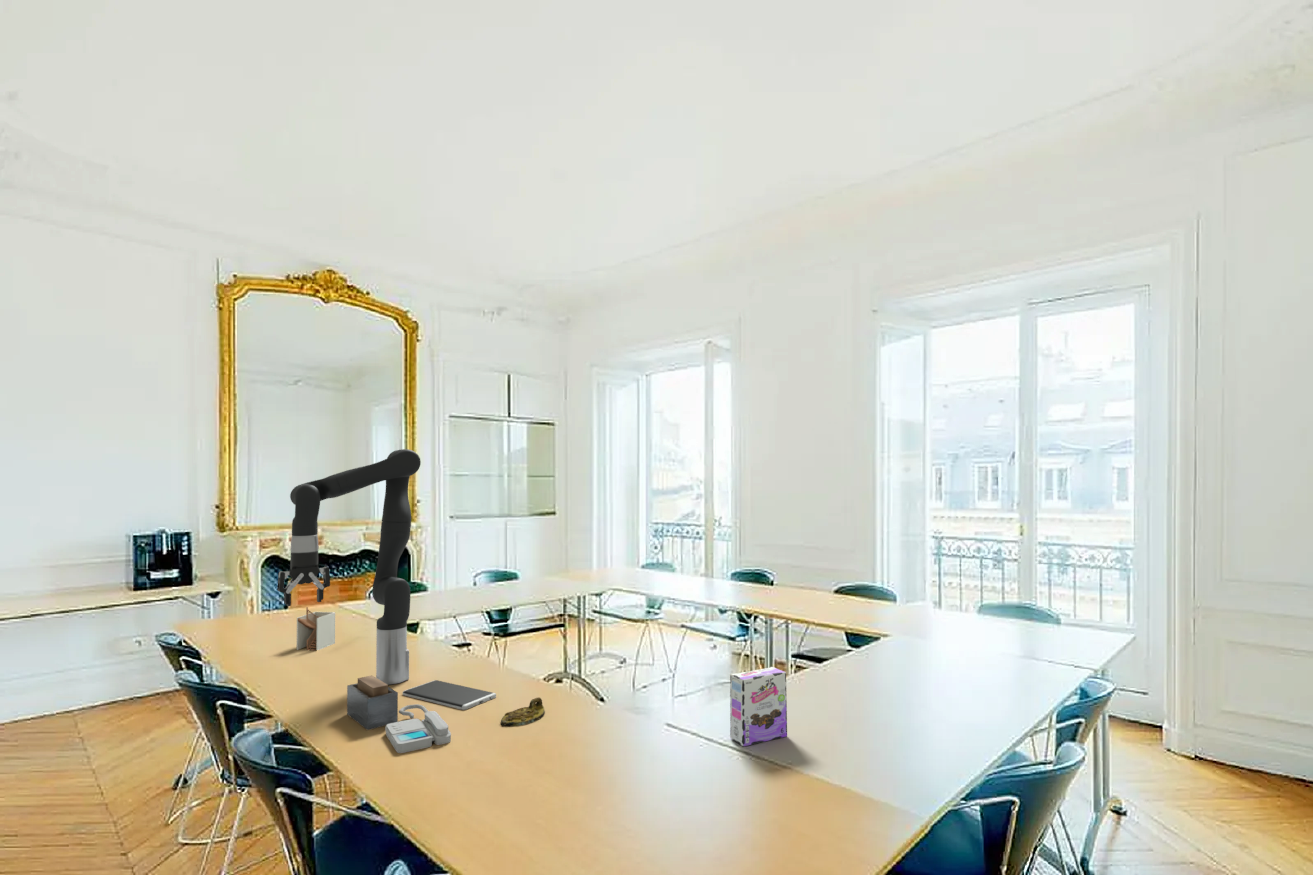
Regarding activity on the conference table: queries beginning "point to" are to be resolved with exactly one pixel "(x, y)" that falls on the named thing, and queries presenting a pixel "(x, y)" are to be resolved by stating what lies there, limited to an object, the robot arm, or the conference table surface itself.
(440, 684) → the smartphone
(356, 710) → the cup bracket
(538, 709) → the seal
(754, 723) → the candy box
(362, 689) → the brown rectangular block
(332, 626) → the staircase
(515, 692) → the conference table surface
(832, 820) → the conference table surface
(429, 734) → the intercom
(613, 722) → the conference table surface
